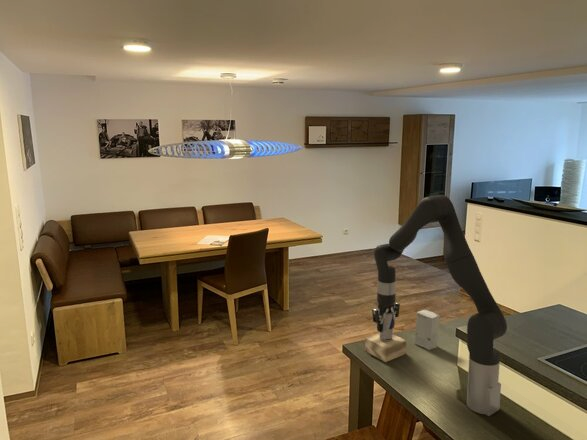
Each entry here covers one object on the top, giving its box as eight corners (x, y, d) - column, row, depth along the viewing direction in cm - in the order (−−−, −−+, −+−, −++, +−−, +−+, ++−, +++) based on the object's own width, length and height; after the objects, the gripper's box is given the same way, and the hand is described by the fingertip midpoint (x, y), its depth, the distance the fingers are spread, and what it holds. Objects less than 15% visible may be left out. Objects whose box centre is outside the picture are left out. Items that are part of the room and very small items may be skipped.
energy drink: (394, 338, 185) (396, 312, 183) (387, 343, 181) (389, 315, 179) (383, 334, 188) (385, 308, 186) (376, 338, 185) (378, 312, 182)
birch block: (406, 353, 184) (406, 340, 183) (385, 362, 178) (385, 348, 177) (385, 343, 194) (385, 330, 193) (365, 350, 188) (365, 337, 187)
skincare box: (414, 343, 193) (415, 311, 190) (422, 340, 197) (424, 308, 194) (430, 350, 186) (431, 317, 184) (439, 346, 190) (440, 314, 187)
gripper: (380, 297, 174) (379, 337, 177) (405, 290, 182) (404, 328, 185) (367, 292, 180) (366, 330, 183) (392, 285, 188) (391, 322, 191)
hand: (385, 329), depth 184 cm, fingers open, 6 cm apart
